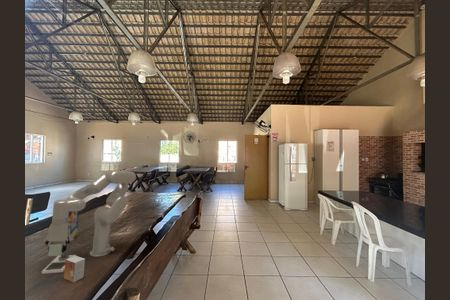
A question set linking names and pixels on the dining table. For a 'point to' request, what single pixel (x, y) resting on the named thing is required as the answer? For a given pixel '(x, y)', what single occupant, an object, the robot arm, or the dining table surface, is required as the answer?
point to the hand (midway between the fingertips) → (57, 251)
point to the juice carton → (73, 224)
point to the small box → (74, 268)
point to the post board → (57, 263)
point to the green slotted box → (55, 248)
